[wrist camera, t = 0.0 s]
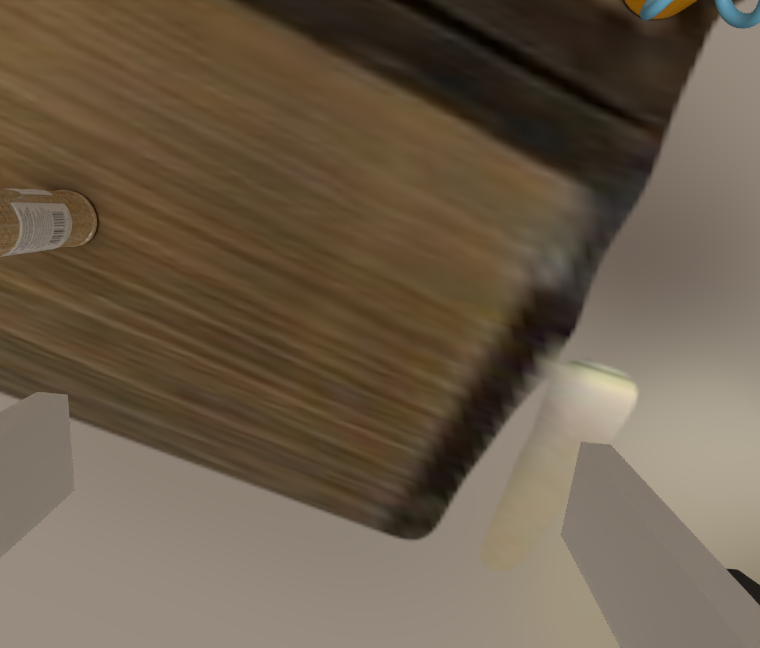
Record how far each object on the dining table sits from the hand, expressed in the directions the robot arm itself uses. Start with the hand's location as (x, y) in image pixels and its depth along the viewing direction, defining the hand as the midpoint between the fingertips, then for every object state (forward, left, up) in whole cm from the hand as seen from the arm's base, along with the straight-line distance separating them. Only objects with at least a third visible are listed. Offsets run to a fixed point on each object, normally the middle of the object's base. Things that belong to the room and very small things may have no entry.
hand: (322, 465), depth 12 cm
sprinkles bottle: (-3, -24, -28) cm, 37 cm away
